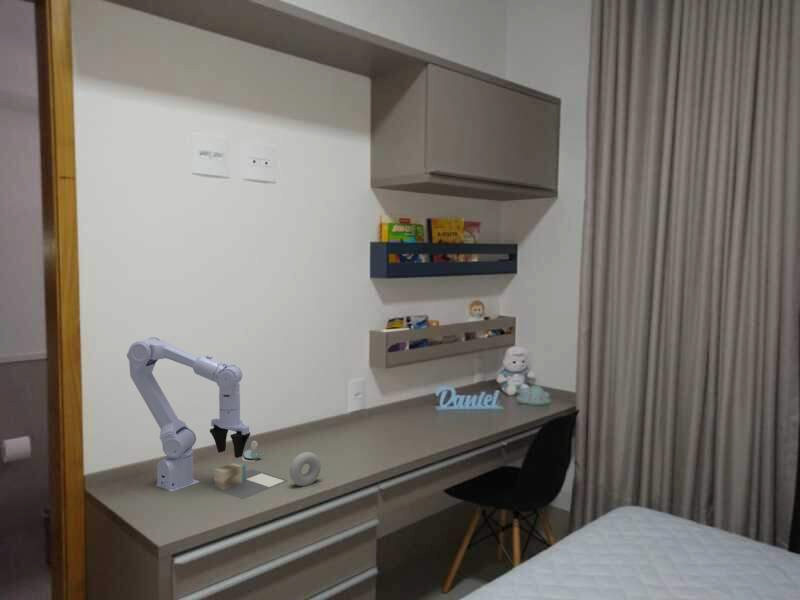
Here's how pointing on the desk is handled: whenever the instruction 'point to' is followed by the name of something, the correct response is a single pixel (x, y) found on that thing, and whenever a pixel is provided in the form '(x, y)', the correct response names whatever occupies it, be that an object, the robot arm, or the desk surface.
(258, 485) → the mat
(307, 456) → the donut
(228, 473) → the card box
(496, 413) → the desk surface
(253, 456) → the pacifier
